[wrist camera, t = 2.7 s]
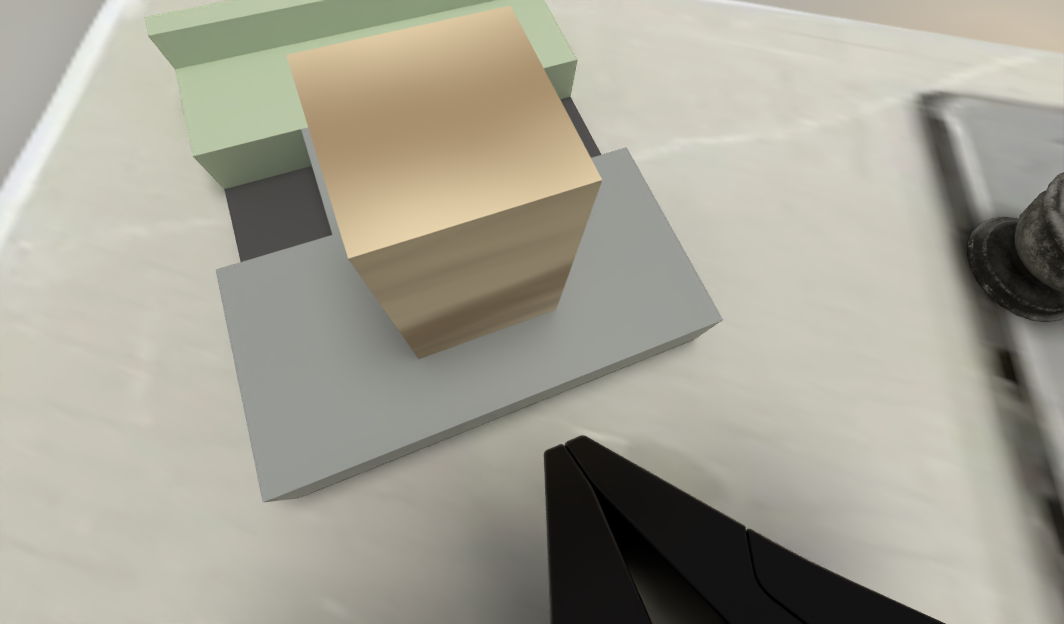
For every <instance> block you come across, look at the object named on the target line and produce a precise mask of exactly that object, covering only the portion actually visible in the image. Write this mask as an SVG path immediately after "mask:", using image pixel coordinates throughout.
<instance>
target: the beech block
mask: <svg viewBox="0 0 1064 624" xmlns="http://www.w3.org/2000/svg"><path fill="white" fill-rule="evenodd" d="M286 56H287V59H288V62H289V66H290V69H291V72H292V76H293V79H294V82H295V85H296V89H297V92H298V95H299V99H300V102H301V105H302V108H303V112H304V115H305V118H306V122H307V125H308V128H309V131H310V135H311V138H312V141H313V145H314V148H315V151H316V155H317V158H318V161H319V164H320V168H321V171H322V174H323V178H324V181H325V184H326V187H327V191H328V194H329V197H330V201H331V204H332V207H333V210H334V214H335V217H336V220H337V224H338V227H339V230H340V233H341V237H342V240H343V243H344V247H345V250H346V253H347V257H348V259H349V261H350V262H351V263H352V265H353V266H354V268H355V269H356V271H357V272H358V273H359V275H360V276H361V278H362V279H363V280H364V282H365V283H366V285H367V286H368V288H369V289H370V290H371V292H372V293H373V295H374V296H375V298H376V299H377V300H378V302H379V303H380V305H381V306H382V307H383V309H384V310H385V312H386V313H387V315H388V316H389V317H390V319H391V320H392V322H393V323H394V325H395V326H396V327H397V329H398V330H399V332H400V333H401V334H402V336H403V337H404V339H405V340H406V342H407V343H408V344H409V346H410V347H411V349H412V350H413V352H414V353H415V354H416V356H417V357H418V359H421V358H424V357H427V356H429V355H432V354H435V353H438V352H440V351H443V350H446V349H449V348H451V347H454V346H457V345H460V344H463V343H465V342H468V341H471V340H474V339H476V338H479V337H482V336H485V335H487V334H490V333H493V332H496V331H498V330H501V329H504V328H507V327H509V326H512V325H515V324H518V323H521V322H523V321H526V320H529V319H532V318H534V317H537V316H540V315H543V314H545V313H548V312H551V311H554V310H556V309H557V306H558V304H559V301H560V298H561V295H562V292H563V290H564V287H565V284H566V281H567V278H568V275H569V273H570V270H571V267H572V264H573V261H574V258H575V256H576V253H577V250H578V247H579V244H580V242H581V239H582V236H583V233H584V230H585V227H586V225H587V222H588V219H589V216H590V213H591V210H592V208H593V205H594V202H595V199H596V196H597V194H598V191H599V188H600V185H601V182H602V178H601V176H600V175H599V173H598V171H597V169H596V167H595V165H594V163H593V161H592V159H591V157H590V155H589V154H588V152H587V150H586V148H585V146H584V144H583V142H582V140H581V138H580V136H579V135H578V133H577V131H576V129H575V127H574V125H573V123H572V121H571V119H570V117H569V116H568V114H567V112H566V110H565V108H564V106H563V104H562V102H561V100H560V98H559V97H558V95H557V93H556V91H555V89H554V87H553V85H552V83H551V81H550V79H549V78H548V76H547V74H546V72H545V70H544V68H543V66H542V64H541V62H540V60H539V58H538V57H537V55H536V53H535V51H534V49H533V47H532V45H531V43H530V41H529V39H528V38H527V36H526V34H525V32H524V30H523V28H522V26H521V24H520V22H519V20H518V19H517V17H516V15H515V13H514V11H513V9H512V7H511V6H506V7H501V8H497V9H492V10H488V11H483V12H479V13H474V14H470V15H465V16H460V17H456V18H451V19H447V20H442V21H438V22H433V23H429V24H424V25H419V26H415V27H410V28H406V29H401V30H397V31H392V32H388V33H383V34H379V35H374V36H369V37H365V38H360V39H356V40H351V41H347V42H342V43H338V44H333V45H328V46H324V47H319V48H315V49H310V50H306V51H301V52H297V53H292V54H287V55H286Z"/></svg>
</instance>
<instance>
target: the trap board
mask: <svg viewBox="0 0 1064 624" xmlns="http://www.w3.org/2000/svg"><path fill="white" fill-rule="evenodd" d="M506 6H511V7H512V9H513V11H514V13H515V15H516V17H517V19H518V20H519V22H520V24H521V26H522V28H523V30H524V32H525V34H526V36H527V38H528V39H529V41H530V43H531V45H532V47H533V49H534V51H535V53H536V55H537V57H538V58H539V60H540V62H541V64H542V66H543V68H544V70H545V72H546V74H547V76H548V78H549V79H550V81H551V83H552V85H553V87H554V89H555V91H556V93H557V95H558V97H559V98H560V100H561V102H562V104H563V106H564V108H565V110H566V112H567V114H568V116H569V117H570V119H571V121H572V123H573V125H574V127H575V129H576V131H577V133H578V135H579V136H580V138H581V140H582V142H583V144H584V146H585V148H586V150H587V152H588V154H589V155H590V157H591V159H592V161H593V163H594V165H595V167H596V169H597V171H598V173H599V175H600V176H601V178H602V182H601V185H600V188H599V191H598V194H597V196H596V199H595V202H594V205H593V208H592V210H591V213H590V216H589V219H588V222H587V225H586V227H585V230H584V233H583V236H582V239H581V242H580V244H579V247H578V250H577V253H576V256H575V258H574V261H573V264H572V267H571V270H570V273H569V275H568V278H567V281H566V284H565V287H564V290H563V292H562V295H561V298H560V301H559V304H558V306H557V309H556V310H554V311H551V312H548V313H545V314H543V315H540V316H537V317H534V318H532V319H529V320H526V321H523V322H521V323H518V324H515V325H512V326H509V327H507V328H504V329H501V330H498V331H496V332H493V333H490V334H487V335H485V336H482V337H479V338H476V339H474V340H471V341H468V342H465V343H463V344H460V345H457V346H454V347H451V348H449V349H446V350H443V351H440V352H438V353H435V354H432V355H429V356H427V357H424V358H421V359H418V357H417V356H416V354H415V353H414V352H413V350H412V349H411V347H410V346H409V344H408V343H407V342H406V340H405V339H404V337H403V336H402V334H401V333H400V332H399V330H398V329H397V327H396V326H395V325H394V323H393V322H392V320H391V319H390V317H389V316H388V315H387V313H386V312H385V310H384V309H383V307H382V306H381V305H380V303H379V302H378V300H377V299H376V298H375V296H374V295H373V293H372V292H371V290H370V289H369V288H368V286H367V285H366V283H365V282H364V280H363V279H362V278H361V276H360V275H359V273H358V272H357V271H356V269H355V268H354V266H353V265H352V263H351V262H350V261H349V259H348V257H347V253H346V250H345V247H344V243H343V240H342V237H341V233H340V230H339V227H338V224H337V220H336V217H335V214H334V210H333V207H332V204H331V201H330V197H329V194H328V191H327V187H326V184H325V181H324V178H323V174H322V171H321V168H320V164H319V161H318V158H317V155H316V151H315V148H314V145H313V141H312V138H311V135H310V131H309V128H308V125H307V122H306V118H305V115H304V112H303V108H302V105H301V102H300V99H299V95H298V92H297V89H296V85H295V82H294V79H293V76H292V72H291V69H290V66H289V62H288V59H287V56H286V55H287V54H292V53H297V52H301V51H306V50H310V49H315V48H319V47H324V46H328V45H333V44H338V43H342V42H347V41H351V40H356V39H360V38H365V37H369V36H374V35H379V34H383V33H388V32H392V31H397V30H401V29H406V28H410V27H415V26H419V25H424V24H429V23H433V22H438V21H442V20H447V19H451V18H456V17H460V16H465V15H470V14H474V13H479V12H483V11H488V10H492V9H497V8H501V7H506ZM145 22H146V28H147V33H148V36H149V38H150V39H151V40H152V41H153V42H154V44H155V45H156V46H157V47H158V49H159V50H160V51H161V52H162V54H163V55H164V56H165V57H166V59H167V60H168V61H169V62H170V64H171V65H172V66H173V67H174V69H175V71H176V76H177V81H178V86H179V91H180V96H181V101H182V106H183V111H184V116H185V121H186V126H187V131H188V136H189V140H190V145H191V150H192V155H193V157H194V158H195V159H196V160H197V161H198V162H199V163H200V164H201V165H202V166H203V167H204V168H205V170H206V171H207V172H208V173H209V174H210V175H211V176H212V177H213V178H214V179H215V180H216V181H217V182H218V183H219V184H220V185H221V186H222V187H223V188H224V189H225V193H226V198H227V202H228V207H229V211H230V216H231V220H232V225H233V229H234V234H235V238H236V243H237V247H238V252H239V256H240V261H241V262H240V263H237V264H233V265H230V266H227V267H223V268H220V269H217V270H216V274H217V279H218V283H219V288H220V293H221V298H222V303H223V308H224V313H225V318H226V323H227V328H228V333H229V338H230V343H231V348H232V353H233V357H234V362H235V367H236V372H237V377H238V382H239V387H240V392H241V397H242V402H243V407H244V412H245V417H246V422H247V426H248V431H249V436H250V441H251V446H252V451H253V456H254V461H255V466H256V471H257V476H258V481H259V486H260V491H261V496H262V500H263V502H270V501H278V500H286V499H294V498H300V497H302V496H305V495H307V494H309V493H312V492H314V491H317V490H319V489H322V488H324V487H327V486H329V485H332V484H334V483H337V482H339V481H342V480H344V479H347V478H349V477H352V476H354V475H357V474H359V473H362V472H364V471H367V470H369V469H372V468H374V467H377V466H379V465H382V464H384V463H387V462H389V461H392V460H394V459H397V458H399V457H402V456H404V455H407V454H409V453H412V452H414V451H417V450H419V449H422V448H424V447H427V446H429V445H432V444H434V443H437V442H439V441H442V440H444V439H447V438H449V437H452V436H454V435H457V434H459V433H462V432H464V431H467V430H469V429H472V428H474V427H477V426H479V425H482V424H484V423H487V422H489V421H492V420H494V419H497V418H499V417H502V416H504V415H507V414H509V413H512V412H514V411H517V410H519V409H522V408H524V407H527V406H529V405H532V404H534V403H537V402H539V401H542V400H544V399H547V398H549V397H552V396H554V395H557V394H559V393H562V392H564V391H567V390H569V389H572V388H574V387H577V386H579V385H582V384H584V383H587V382H589V381H592V380H594V379H597V378H599V377H602V376H604V375H607V374H609V373H612V372H614V371H617V370H619V369H621V368H624V367H626V366H629V365H631V364H634V363H636V362H639V361H641V360H644V359H646V358H649V357H651V356H654V355H656V354H659V353H661V352H664V351H666V350H669V349H671V348H674V347H676V346H679V345H681V344H684V343H686V342H689V341H691V340H694V339H696V338H697V337H699V336H700V335H702V334H703V333H704V332H706V331H707V330H709V329H710V328H712V327H713V326H715V325H716V324H718V323H719V322H721V321H722V320H723V319H722V317H721V315H720V314H719V312H718V310H717V308H716V306H715V305H714V303H713V301H712V299H711V297H710V296H709V294H708V292H707V290H706V288H705V287H704V285H703V283H702V281H701V280H700V278H699V276H698V274H697V272H696V271H695V269H694V267H693V265H692V263H691V262H690V260H689V258H688V256H687V255H686V253H685V251H684V249H683V247H682V246H681V244H680V242H679V240H678V238H677V237H676V235H675V233H674V231H673V230H672V228H671V226H670V224H669V222H668V221H667V219H666V217H665V215H664V213H663V212H662V210H661V208H660V206H659V204H658V203H657V201H656V199H655V197H654V196H653V194H652V192H651V190H650V188H649V187H648V185H647V183H646V181H645V179H644V178H643V176H642V174H641V172H640V171H639V169H638V167H637V165H636V163H635V162H634V160H633V158H632V156H631V154H630V153H629V151H628V149H627V147H626V148H623V149H619V150H616V151H613V152H609V153H606V154H602V155H601V153H600V151H599V149H598V147H597V146H596V144H595V142H594V140H593V138H592V136H591V134H590V133H589V131H588V129H587V127H586V125H585V123H584V121H583V119H582V118H581V116H580V114H579V112H578V110H577V108H576V106H575V105H574V103H573V101H572V99H571V97H570V96H571V91H572V86H573V80H574V75H575V70H576V65H577V58H576V56H575V54H574V53H573V51H572V49H571V47H570V45H569V44H568V42H567V40H566V38H565V37H564V35H563V33H562V31H561V29H560V28H559V26H558V24H557V22H556V20H555V19H554V17H553V15H552V13H551V11H550V10H549V8H548V6H547V4H546V3H545V1H544V0H230V1H225V2H220V3H215V4H210V5H204V6H199V7H194V8H189V9H184V10H179V11H173V12H168V13H163V14H158V15H153V16H148V17H145Z"/></svg>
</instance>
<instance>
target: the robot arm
mask: <svg viewBox="0 0 1064 624" xmlns="http://www.w3.org/2000/svg"><path fill="white" fill-rule="evenodd" d="M544 471H545V496H546V522H547V547H548V573H549V598H550V624H945V623H943V622H941V621H939V620H937V619H934V618H932V617H930V616H928V615H926V614H923V613H921V612H919V611H917V610H915V609H912V608H910V607H908V606H906V605H904V604H901V603H899V602H897V601H895V600H892V599H890V598H888V597H886V596H884V595H881V594H879V593H877V592H875V591H873V590H870V589H868V588H866V587H864V586H862V585H859V584H857V583H855V582H853V581H851V580H849V579H846V578H844V577H842V576H840V575H838V574H836V573H834V572H832V571H830V570H828V569H825V568H823V567H821V566H819V565H817V564H815V563H813V562H811V561H809V560H807V559H805V558H803V557H801V556H799V555H797V554H796V553H794V552H792V551H790V550H788V549H786V548H784V547H782V546H781V545H779V544H777V543H775V542H773V541H771V540H769V539H768V538H766V537H764V536H762V535H761V534H759V533H757V532H755V531H754V530H752V529H747V531H746V527H745V526H744V525H743V524H741V523H739V522H737V521H736V520H734V519H732V518H730V517H728V516H727V515H725V514H723V513H721V512H720V511H718V510H716V509H714V508H712V507H711V506H709V505H707V504H705V503H704V502H702V501H700V500H698V499H696V498H695V497H693V496H691V495H689V494H688V493H686V492H684V491H682V490H681V489H679V488H677V487H675V486H673V485H672V484H670V483H668V482H666V481H665V480H663V479H661V478H659V477H657V476H656V475H654V474H652V473H650V472H649V471H647V470H645V469H643V468H642V467H640V466H638V465H636V464H634V463H633V462H631V461H629V460H627V459H626V458H624V457H622V456H620V455H618V454H617V453H615V452H613V451H611V450H610V449H608V448H606V447H604V446H602V445H601V444H599V443H597V442H595V441H594V440H592V439H590V438H588V437H586V436H583V435H582V436H579V437H576V438H574V439H572V440H569V441H567V442H566V443H565V446H564V445H563V444H560V445H558V446H555V447H553V448H551V449H548V450H546V451H545V452H544Z"/></svg>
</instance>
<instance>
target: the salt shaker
mask: <svg viewBox="0 0 1064 624" xmlns="http://www.w3.org/2000/svg"><path fill="white" fill-rule="evenodd" d="M967 256H968V260H969V263H970V267H971V270H972V271H973V273H974V275H975V277H976V279H977V281H978V282H979V284H980V285H981V286H982V287H983V289H984V290H985V291H986V292H987V293H988V295H989V296H991V297H992V298H993V299H994V300H995V301H996V302H998V303H999V304H1000V305H1001V306H1003V307H1004V308H1006V309H1008V310H1009V311H1011V312H1013V313H1015V314H1016V315H1019V316H1022V317H1024V318H1027V319H1030V320H1035V321H1043V322H1050V321H1056V320H1061V319H1064V172H1063V173H1061V174H1059V175H1057V176H1056V178H1055V179H1054V180H1053V181H1052V182H1051V183H1050V184H1049V185H1048V188H1047V190H1046V191H1044V192H1042V193H1040V194H1039V195H1038V197H1037V198H1036V199H1035V200H1034V201H1033V202H1032V203H1031V204H1030V205H1029V206H1028V207H1027V208H1026V209H1025V211H1024V212H1023V213H1022V214H1021V215H1020V217H1019V219H1017V218H1009V217H1000V218H992V219H990V220H988V221H985V222H983V223H981V224H979V225H978V226H977V227H976V228H975V229H974V230H973V231H972V233H971V235H970V238H969V240H968V245H967Z"/></svg>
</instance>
